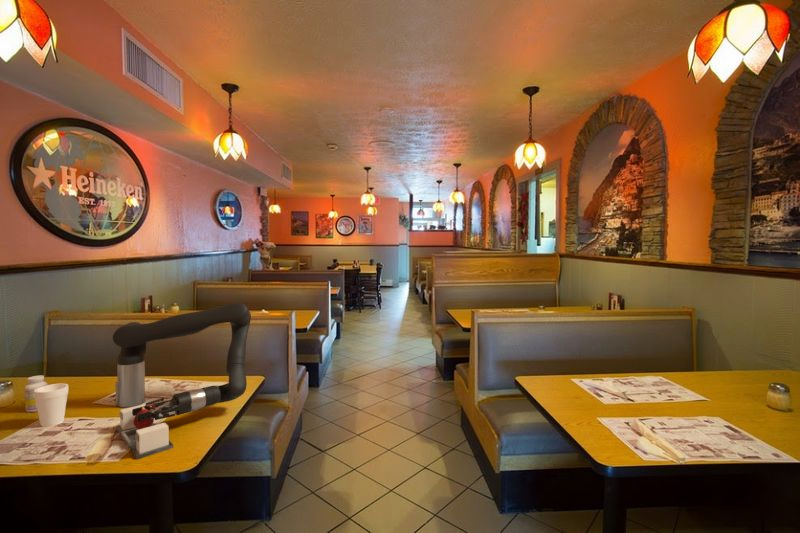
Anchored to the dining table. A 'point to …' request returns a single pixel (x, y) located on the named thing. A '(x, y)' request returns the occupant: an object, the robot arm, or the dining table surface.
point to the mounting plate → (131, 442)
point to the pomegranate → (145, 422)
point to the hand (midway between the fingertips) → (135, 415)
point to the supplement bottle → (32, 392)
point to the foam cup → (51, 403)
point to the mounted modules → (145, 432)
